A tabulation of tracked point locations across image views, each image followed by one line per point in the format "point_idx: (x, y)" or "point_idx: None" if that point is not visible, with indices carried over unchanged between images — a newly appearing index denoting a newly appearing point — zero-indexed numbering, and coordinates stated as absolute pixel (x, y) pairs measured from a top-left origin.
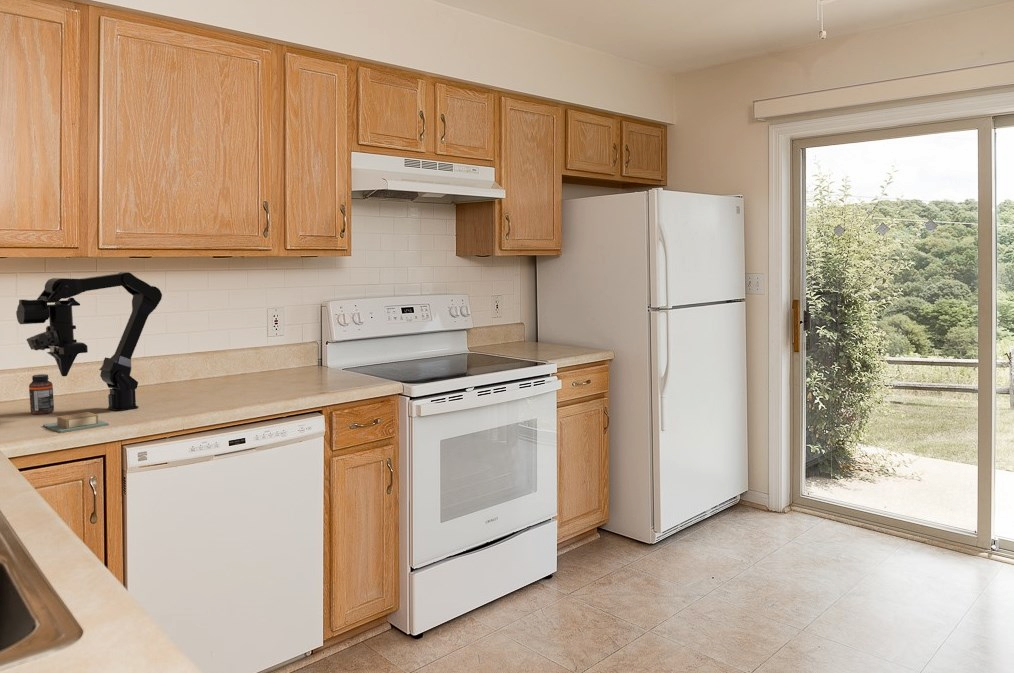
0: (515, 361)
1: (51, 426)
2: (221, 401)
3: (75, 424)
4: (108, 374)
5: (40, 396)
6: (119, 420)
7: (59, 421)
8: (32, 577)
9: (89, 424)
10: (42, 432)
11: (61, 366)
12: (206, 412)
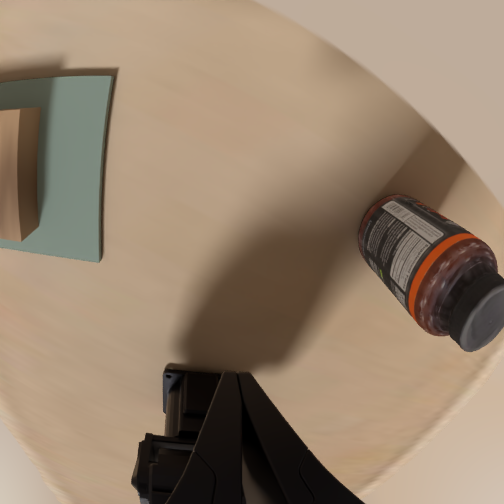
0: None
1: (47, 85)
2: (109, 474)
3: None
4: (173, 482)
5: (405, 240)
6: (18, 295)
7: (12, 109)
8: None
9: None
10: (22, 41)
11: (196, 444)
12: (13, 416)
